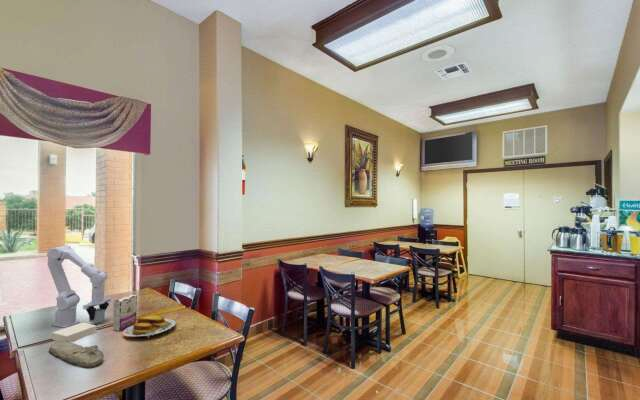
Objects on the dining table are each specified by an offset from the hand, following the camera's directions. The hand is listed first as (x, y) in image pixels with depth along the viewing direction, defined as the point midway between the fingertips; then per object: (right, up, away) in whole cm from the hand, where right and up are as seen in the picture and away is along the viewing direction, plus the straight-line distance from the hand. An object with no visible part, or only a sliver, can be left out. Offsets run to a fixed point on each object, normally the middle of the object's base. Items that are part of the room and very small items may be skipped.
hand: (96, 317), depth 169 cm
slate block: (0, -2, 0) cm, 2 cm away
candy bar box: (+18, -4, -3) cm, 19 cm away
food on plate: (+34, -5, -7) cm, 35 cm away
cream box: (0, -3, -16) cm, 16 cm away
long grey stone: (+17, -4, -35) cm, 39 cm away
